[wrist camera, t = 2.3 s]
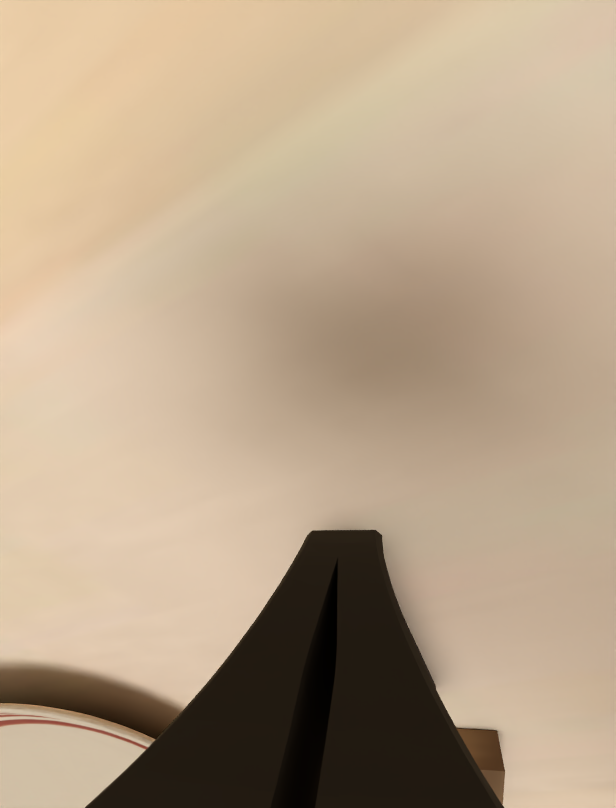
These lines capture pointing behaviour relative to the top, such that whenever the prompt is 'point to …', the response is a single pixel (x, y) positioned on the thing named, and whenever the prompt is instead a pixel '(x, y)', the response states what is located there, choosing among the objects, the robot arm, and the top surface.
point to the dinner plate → (61, 756)
